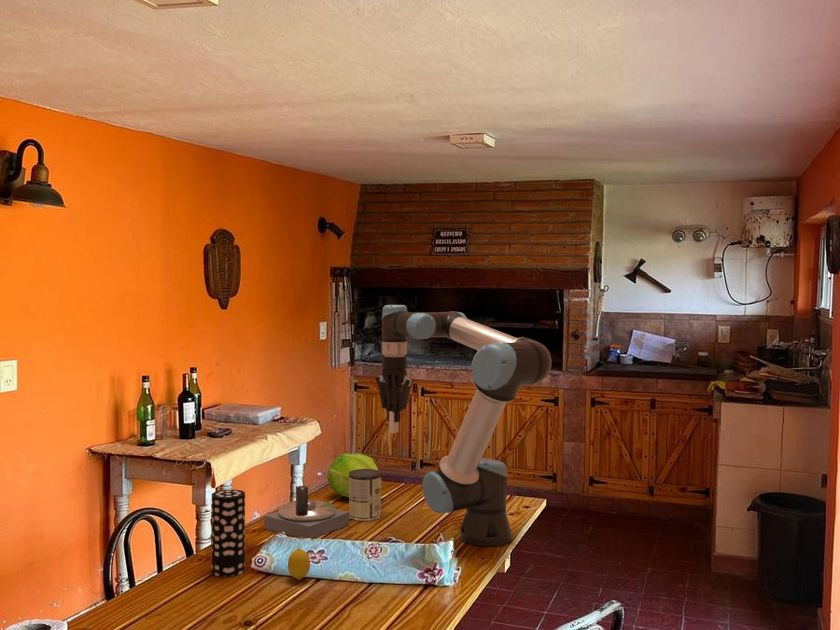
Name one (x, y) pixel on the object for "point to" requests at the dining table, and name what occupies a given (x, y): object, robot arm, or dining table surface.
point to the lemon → (298, 564)
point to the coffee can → (364, 494)
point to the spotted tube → (228, 532)
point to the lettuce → (347, 470)
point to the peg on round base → (306, 508)
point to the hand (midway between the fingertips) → (393, 432)
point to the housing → (306, 524)
